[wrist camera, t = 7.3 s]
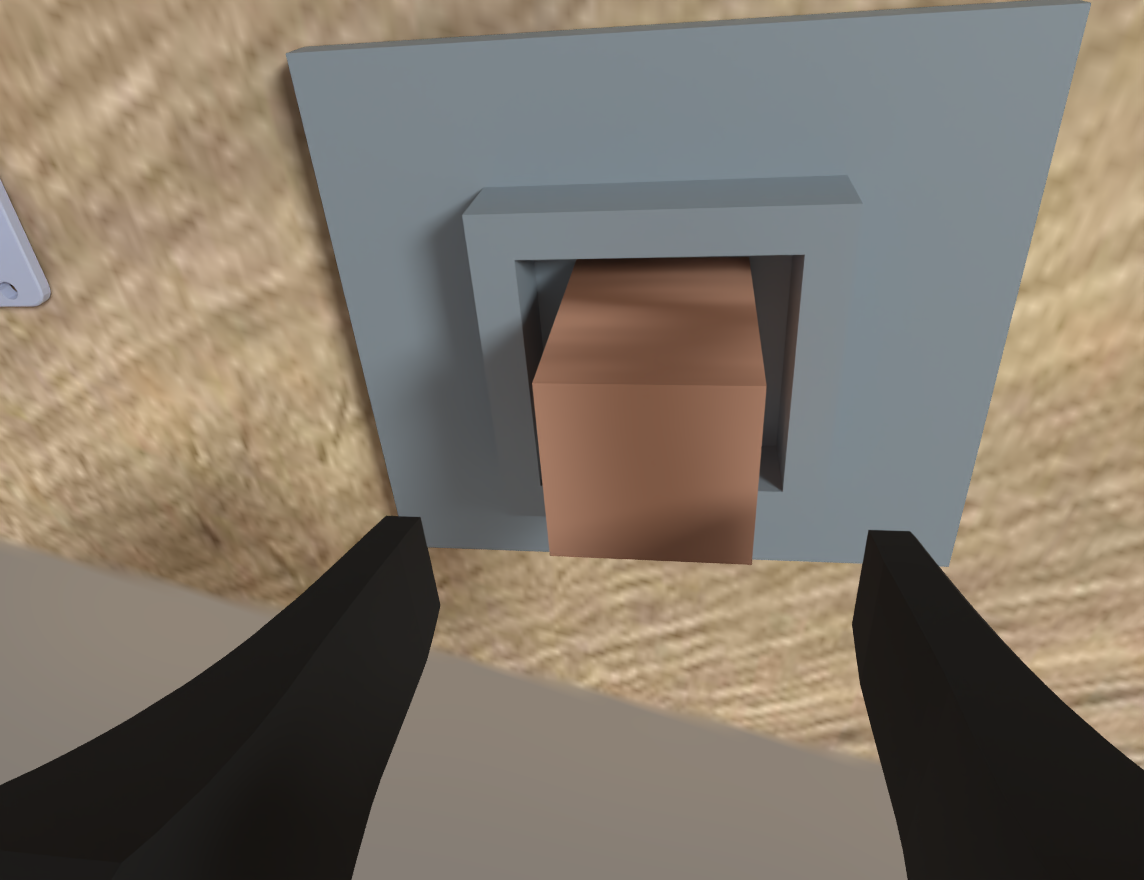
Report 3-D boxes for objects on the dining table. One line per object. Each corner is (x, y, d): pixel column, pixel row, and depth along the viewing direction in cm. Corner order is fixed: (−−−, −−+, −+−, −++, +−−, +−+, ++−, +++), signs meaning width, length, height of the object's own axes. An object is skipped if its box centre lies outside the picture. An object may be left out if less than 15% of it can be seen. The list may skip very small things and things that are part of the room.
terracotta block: (585, 403, 21) (550, 555, 16) (577, 258, 19) (531, 383, 14) (739, 405, 20) (751, 564, 15) (749, 256, 18) (766, 385, 13)
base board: (415, 526, 26) (384, 591, 23) (304, 46, 18) (241, 68, 15) (940, 543, 23) (968, 618, 21) (1070, -3, 16) (1140, 14, 13)
